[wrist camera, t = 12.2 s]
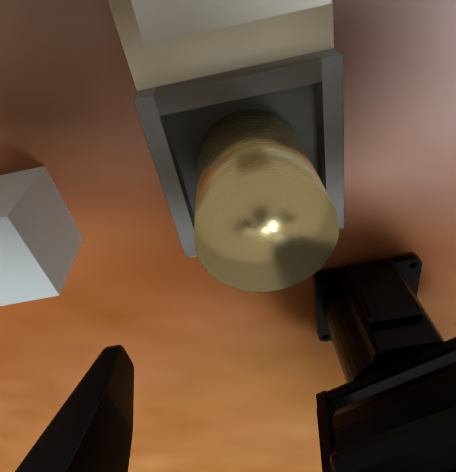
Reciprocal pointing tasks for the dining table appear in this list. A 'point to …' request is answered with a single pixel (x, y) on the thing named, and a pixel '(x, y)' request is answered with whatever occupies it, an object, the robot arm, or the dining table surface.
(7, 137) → the dining table surface
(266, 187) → the brass cylinder
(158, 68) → the mounted unit
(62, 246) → the grey block
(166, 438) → the dining table surface
